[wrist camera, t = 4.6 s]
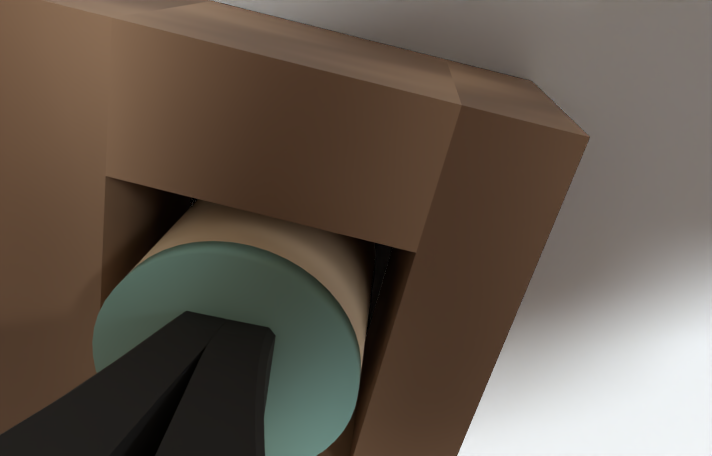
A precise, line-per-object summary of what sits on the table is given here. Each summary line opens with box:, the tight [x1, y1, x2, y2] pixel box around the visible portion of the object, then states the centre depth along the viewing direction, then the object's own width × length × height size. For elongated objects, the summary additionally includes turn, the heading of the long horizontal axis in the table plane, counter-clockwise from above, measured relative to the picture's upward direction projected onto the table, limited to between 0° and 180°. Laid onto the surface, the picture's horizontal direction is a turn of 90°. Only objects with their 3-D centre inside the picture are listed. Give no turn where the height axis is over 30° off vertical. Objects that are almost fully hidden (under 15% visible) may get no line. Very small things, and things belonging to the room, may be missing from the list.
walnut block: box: [0, 0, 590, 456], centre depth 11 cm, size 16×9×4 cm, turn 77°
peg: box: [92, 199, 376, 456], centre depth 10 cm, size 4×4×4 cm
